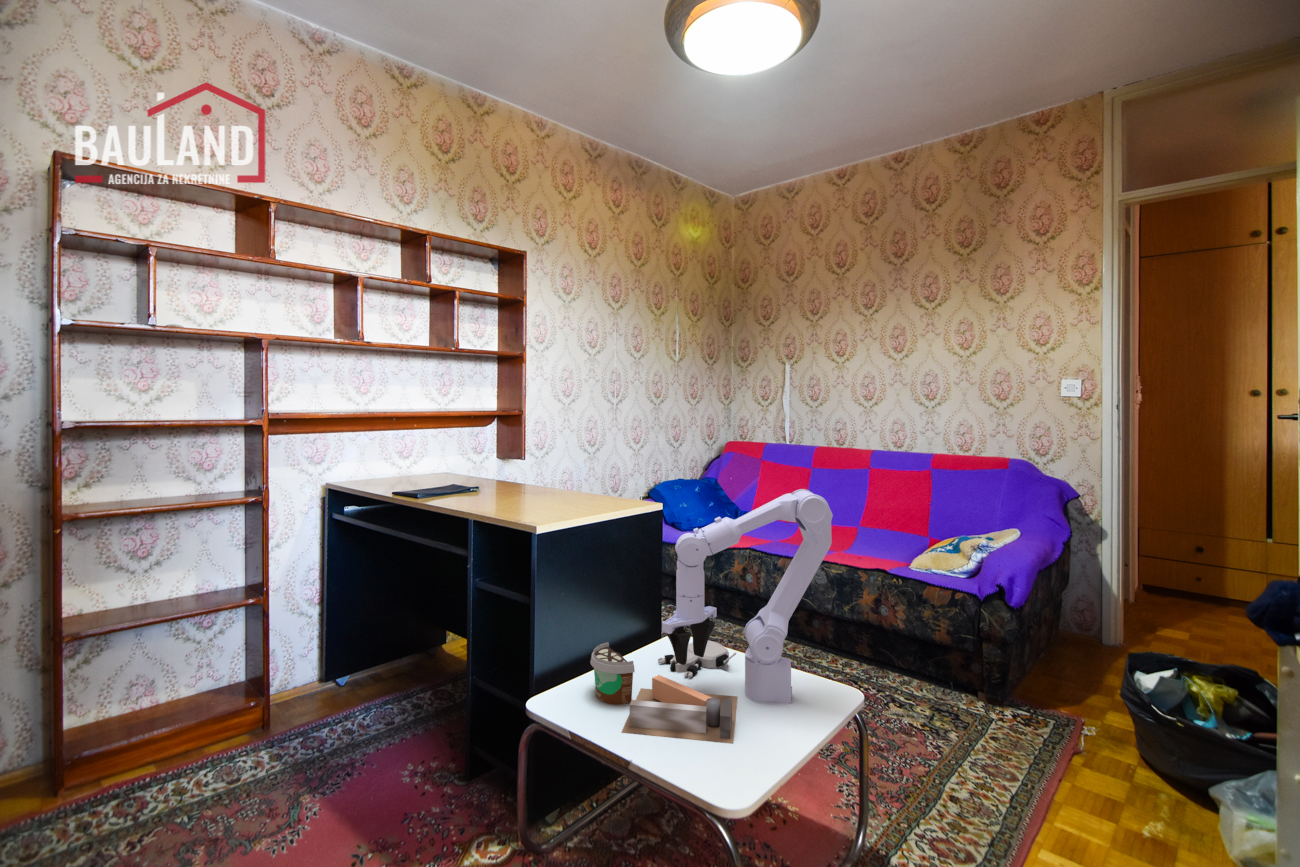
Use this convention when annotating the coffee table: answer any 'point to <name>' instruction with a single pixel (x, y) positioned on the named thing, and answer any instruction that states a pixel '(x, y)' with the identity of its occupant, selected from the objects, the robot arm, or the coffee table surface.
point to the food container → (612, 676)
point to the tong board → (684, 735)
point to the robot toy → (699, 659)
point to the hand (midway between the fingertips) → (690, 659)
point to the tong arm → (685, 697)
